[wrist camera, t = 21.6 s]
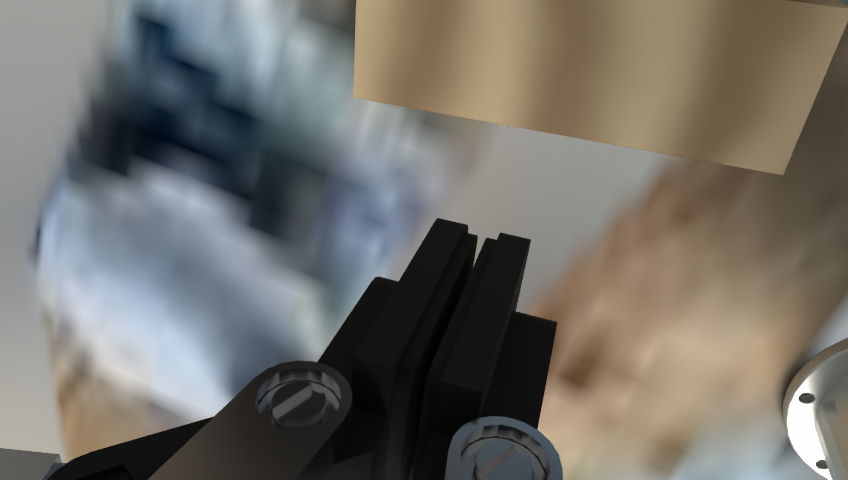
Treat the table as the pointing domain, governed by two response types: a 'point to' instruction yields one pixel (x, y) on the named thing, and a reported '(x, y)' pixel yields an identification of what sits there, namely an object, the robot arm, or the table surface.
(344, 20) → the table surface
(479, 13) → the oak plank
